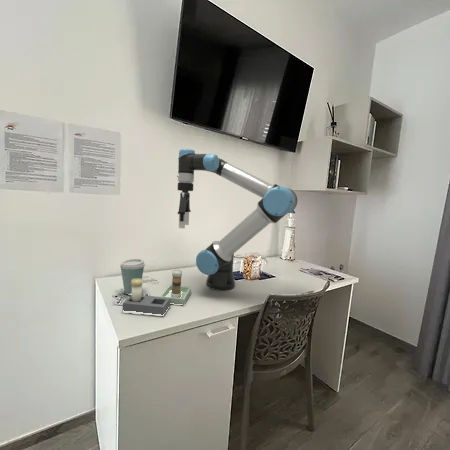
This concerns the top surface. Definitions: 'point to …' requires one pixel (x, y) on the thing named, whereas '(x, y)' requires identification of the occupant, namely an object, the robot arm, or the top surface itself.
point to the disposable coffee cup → (131, 272)
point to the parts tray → (185, 294)
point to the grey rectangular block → (148, 305)
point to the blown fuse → (176, 284)
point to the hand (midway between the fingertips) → (183, 226)
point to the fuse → (136, 289)
